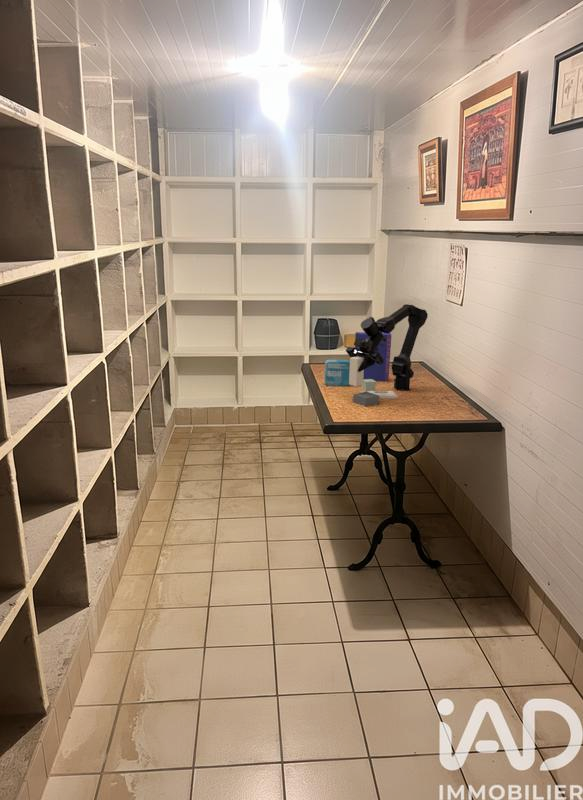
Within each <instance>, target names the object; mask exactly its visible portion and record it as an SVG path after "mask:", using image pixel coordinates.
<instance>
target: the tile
mask: <svg viewBox="0 0 583 800" xmlns="http://www.w3.org/2000/svg"><path fill="white" fill-rule="evenodd" d="M367 392H370V393H373V394H376V395H379V396H380V398H381V399H398V395H397V393H395V392H394V391H393V390H376V391H367Z"/></svg>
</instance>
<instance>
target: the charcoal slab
mask: <svg viewBox="0 0 583 800" xmlns="http://www.w3.org/2000/svg"><path fill="white" fill-rule="evenodd" d="M352 396H353V397H352V402H353V403H354V404H356V405H359V404H360V406H362V405H364V406H363V407H369V406H368V405H371V406H375V405H374V404H377V405H379V404H380V399H379V398H380V396H379V395H376V394H373V393H370V392H364V391H362V392H358V393H357V392H356V393H353V394H352Z"/></svg>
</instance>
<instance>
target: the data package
mask: <svg viewBox="0 0 583 800" xmlns="http://www.w3.org/2000/svg"><path fill="white" fill-rule="evenodd" d="M324 363H325V364H324V383H325V385H326V386H329V387H330V386H333V387H339V386H341V387H343V385H344V387H347V386H350V385H349V371H350V360H348V359H326V360H325V362H324ZM334 385H335V386H334Z"/></svg>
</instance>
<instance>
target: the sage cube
mask: <svg viewBox="0 0 583 800" xmlns="http://www.w3.org/2000/svg"><path fill="white" fill-rule="evenodd" d="M376 389H377V381H374V380H373V379H364V380H363V385H361V390H362V392H364V391H365V392H367V391H377V390H376Z"/></svg>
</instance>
